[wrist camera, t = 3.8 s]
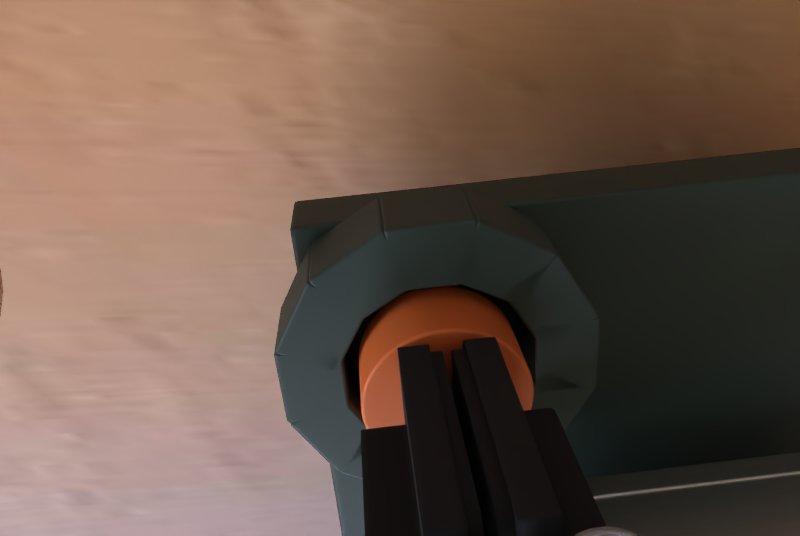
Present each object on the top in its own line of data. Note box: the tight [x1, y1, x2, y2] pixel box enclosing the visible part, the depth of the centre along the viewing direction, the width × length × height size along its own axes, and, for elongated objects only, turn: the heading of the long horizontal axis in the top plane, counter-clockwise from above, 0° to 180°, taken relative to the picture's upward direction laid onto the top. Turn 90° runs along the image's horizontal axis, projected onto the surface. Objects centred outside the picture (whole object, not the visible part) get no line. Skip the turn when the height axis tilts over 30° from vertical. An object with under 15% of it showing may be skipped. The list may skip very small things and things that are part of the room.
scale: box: [274, 148, 800, 536], centre depth 17 cm, size 16×14×3 cm
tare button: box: [359, 286, 534, 429], centre depth 13 cm, size 3×3×2 cm
